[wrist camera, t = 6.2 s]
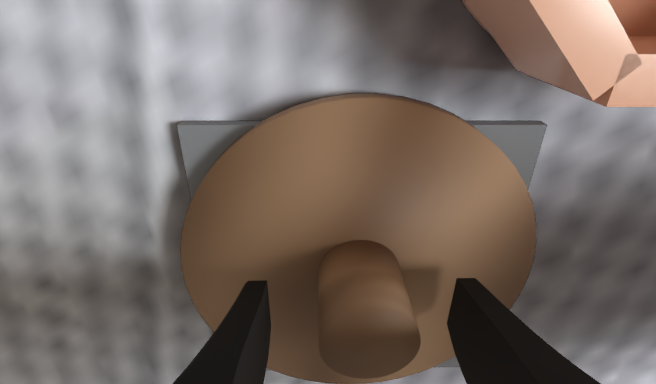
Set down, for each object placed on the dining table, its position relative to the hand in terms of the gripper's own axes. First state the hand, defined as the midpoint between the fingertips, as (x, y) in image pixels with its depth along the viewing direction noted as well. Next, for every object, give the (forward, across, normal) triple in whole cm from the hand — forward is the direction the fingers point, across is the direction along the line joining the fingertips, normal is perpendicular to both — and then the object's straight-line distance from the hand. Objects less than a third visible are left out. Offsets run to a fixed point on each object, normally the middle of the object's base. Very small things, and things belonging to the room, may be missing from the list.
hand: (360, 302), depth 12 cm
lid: (+2, 0, 0) cm, 2 cm away
